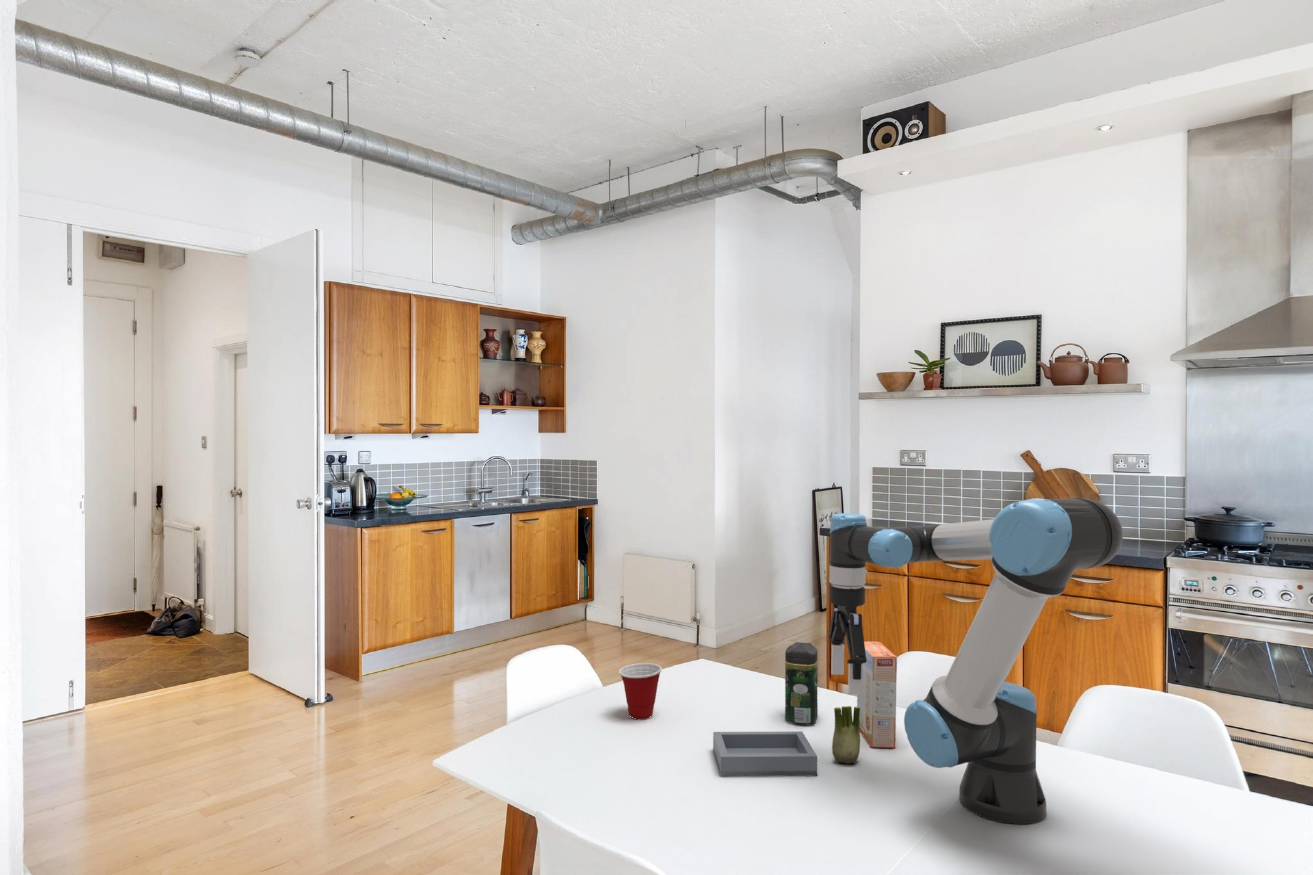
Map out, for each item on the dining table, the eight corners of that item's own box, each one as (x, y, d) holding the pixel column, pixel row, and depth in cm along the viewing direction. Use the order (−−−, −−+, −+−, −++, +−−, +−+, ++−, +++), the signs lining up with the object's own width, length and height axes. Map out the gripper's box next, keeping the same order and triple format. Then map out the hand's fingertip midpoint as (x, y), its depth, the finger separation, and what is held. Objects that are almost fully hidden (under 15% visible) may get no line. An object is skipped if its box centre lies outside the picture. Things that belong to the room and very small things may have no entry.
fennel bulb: (860, 759, 171) (860, 704, 171) (859, 768, 167) (860, 711, 167) (832, 756, 173) (833, 701, 173) (831, 764, 168) (832, 708, 168)
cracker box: (897, 749, 177) (898, 656, 177) (870, 748, 177) (871, 655, 177) (881, 726, 191) (881, 640, 191) (856, 726, 191) (856, 640, 191)
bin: (817, 775, 162) (817, 756, 162) (720, 776, 162) (720, 756, 162) (802, 749, 176) (802, 731, 176) (713, 749, 176) (713, 731, 176)
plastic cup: (613, 711, 201) (613, 663, 201) (653, 707, 204) (654, 660, 204) (624, 725, 190) (624, 675, 190) (667, 721, 194) (667, 672, 194)
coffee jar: (787, 711, 201) (788, 638, 202) (819, 715, 199) (819, 641, 199) (782, 724, 192) (782, 648, 192) (815, 728, 190) (815, 651, 190)
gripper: (883, 597, 158) (881, 703, 158) (848, 575, 183) (847, 666, 183) (846, 597, 157) (844, 703, 157) (816, 575, 182) (815, 666, 182)
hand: (846, 683), depth 170 cm, fingers open, 13 cm apart
